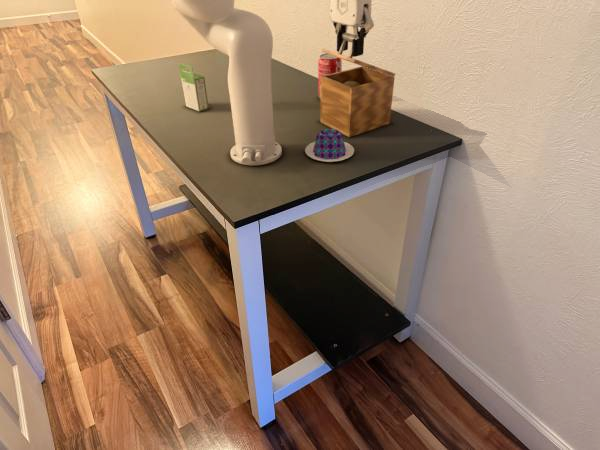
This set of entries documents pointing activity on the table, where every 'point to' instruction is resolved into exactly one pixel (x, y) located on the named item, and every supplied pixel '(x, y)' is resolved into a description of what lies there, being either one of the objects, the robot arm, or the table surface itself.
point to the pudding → (329, 146)
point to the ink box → (194, 89)
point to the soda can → (327, 67)
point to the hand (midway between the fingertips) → (349, 52)
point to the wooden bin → (356, 100)
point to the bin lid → (349, 38)
